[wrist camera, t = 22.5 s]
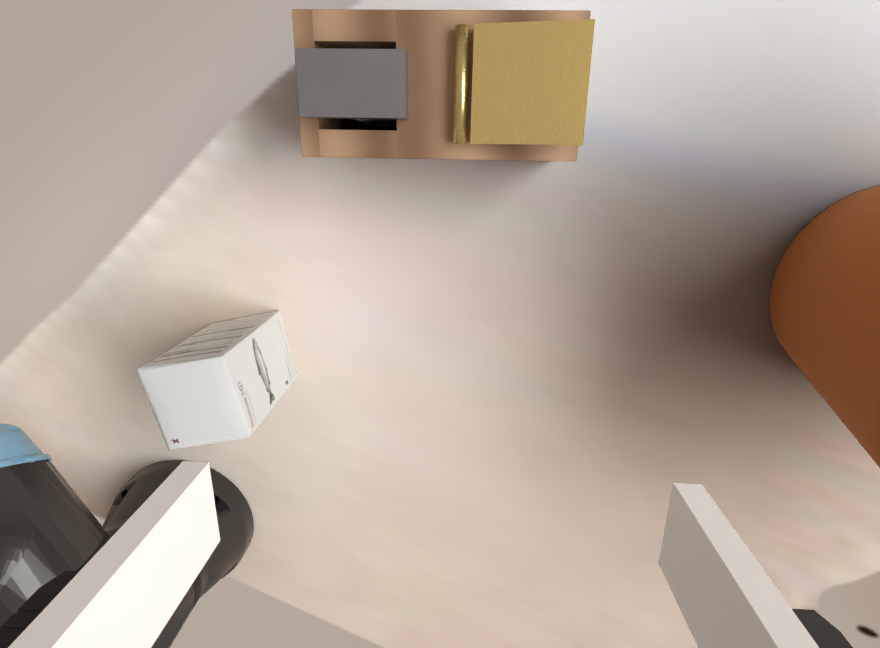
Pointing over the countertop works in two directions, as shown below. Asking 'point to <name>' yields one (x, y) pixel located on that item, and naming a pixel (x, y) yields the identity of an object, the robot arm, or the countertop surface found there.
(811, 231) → the flowerpot
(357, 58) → the grey block
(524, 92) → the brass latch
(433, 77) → the socket block
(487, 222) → the countertop surface
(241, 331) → the supplement box
